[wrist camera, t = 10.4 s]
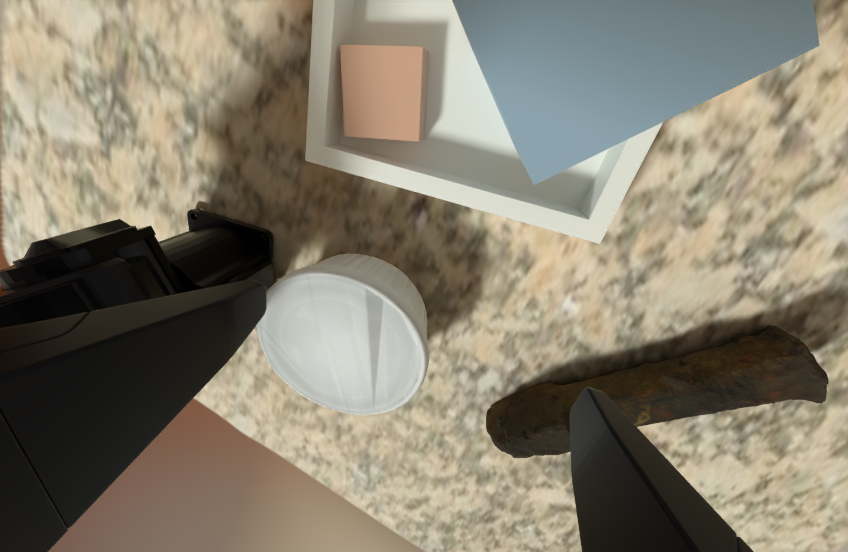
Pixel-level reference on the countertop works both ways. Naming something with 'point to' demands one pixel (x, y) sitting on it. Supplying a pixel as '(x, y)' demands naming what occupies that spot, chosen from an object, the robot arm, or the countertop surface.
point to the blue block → (619, 64)
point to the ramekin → (347, 334)
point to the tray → (453, 126)
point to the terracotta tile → (384, 91)
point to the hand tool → (665, 391)
